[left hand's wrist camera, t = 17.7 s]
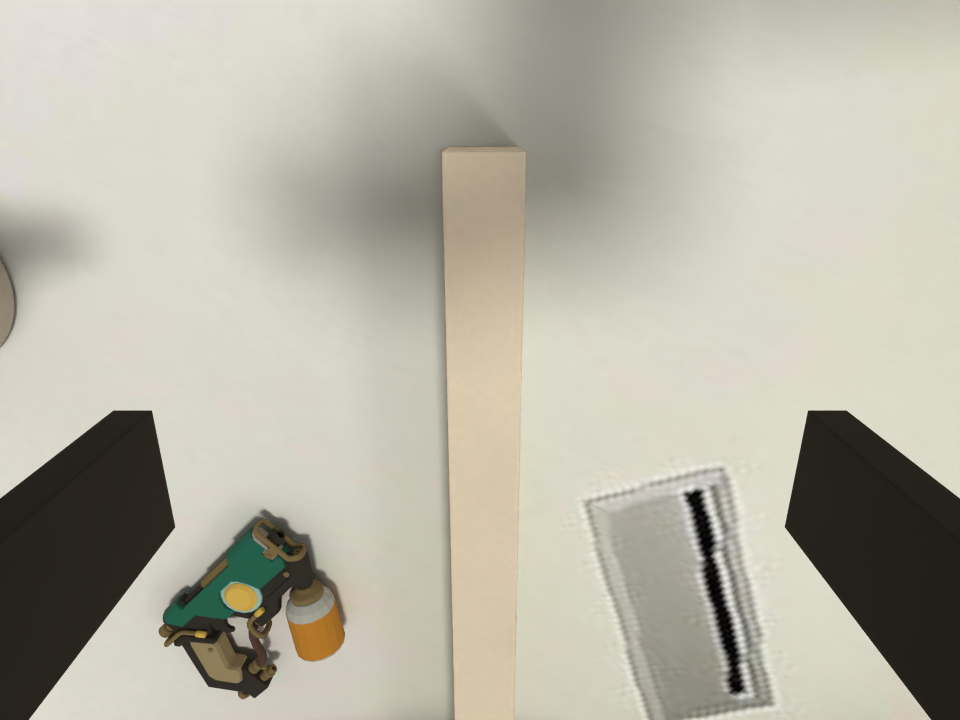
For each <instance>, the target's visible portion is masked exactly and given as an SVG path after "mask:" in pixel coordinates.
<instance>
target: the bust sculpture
mask: <svg viewBox="0 0 960 720" xmlns="http://www.w3.org/2000/svg"><path fill="white" fill-rule="evenodd" d="M13 318H14V295H13V290H12V286H11V282H10V279H9V277H8V274H7V272H6V269H5V267H4V265H3V264H2V262H1V260H0V346H1V345H2V344H3V343H4V341H5V340H6V338H7V336H8V334H9V332H10V329H11V327H12V323H13Z"/></svg>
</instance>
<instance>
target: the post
mask: <svg viewBox="0 0 960 720" xmlns="http://www.w3.org/2000/svg"><path fill="white" fill-rule="evenodd" d="M525 190H526V151H524V150H522V149H520V148H519V147H448V148H447V149H445V150H444V151H442V193H443V237H444V280H445V324H446V367H447V410H448V454H449V497H450V541H451V584H452V628H453V671H454V715H455V720H514V695H515V649H516V603H517V557H518V511H519V465H520V420H521V374H522V328H523V282H524V236H525Z"/></svg>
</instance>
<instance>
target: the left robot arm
mask: <svg viewBox="0 0 960 720" xmlns="http://www.w3.org/2000/svg"><path fill="white" fill-rule="evenodd" d="M174 528H175V524H174V519H173V514H172V509H171V504H170V499H169V494H168V489H167V484H166V479H165V474H164V469H163V464H162V459H161V454H160V449H159V444H158V439H157V434H156V429H155V424H154V419H153V414H152V411H112V412H111V413H110V414H109V415H107V416H106V417H105V418H103V419H102V420H101V421H100V422H98V423H97V424H96V425H94V426H93V427H92V428H91V429H89V430H88V431H87V432H85V433H84V434H83V435H82V436H80V437H79V438H78V439H76V440H75V441H74V442H73V443H71V444H70V445H69V446H67V447H66V448H65V449H63V450H62V451H61V452H60V453H58V454H57V455H56V456H54V457H53V458H52V459H51V460H49V461H48V462H47V463H45V464H44V465H43V466H42V467H40V468H39V469H38V470H36V471H35V472H34V473H33V474H31V475H30V476H29V477H27V478H26V479H25V480H24V481H22V482H21V483H20V484H18V485H17V486H16V487H15V488H13V489H12V490H11V491H9V492H8V493H7V494H6V495H4V496H3V497H2V498H0V720H29V719H30V717H31V716H32V715H33V713H34V712H35V711H36V709H37V708H38V707H39V705H40V704H41V703H42V702H43V700H44V699H45V698H46V696H47V695H48V694H49V692H50V691H51V690H52V688H53V687H54V686H55V684H56V683H57V682H58V680H59V679H60V678H61V677H62V675H63V674H64V673H65V671H66V670H67V669H68V667H69V666H70V665H71V663H72V662H73V661H74V659H75V658H76V657H77V656H78V654H79V653H80V652H81V650H82V649H83V648H84V646H85V645H86V644H87V642H88V641H89V640H90V638H91V637H92V636H93V634H94V633H95V632H96V631H97V629H98V628H99V627H100V625H101V624H102V623H103V621H104V620H105V619H106V617H107V616H108V615H109V613H110V612H111V611H112V609H113V608H114V607H115V606H116V604H117V603H118V602H119V600H120V599H121V598H122V596H123V595H124V594H125V592H126V591H127V590H128V588H129V587H130V586H131V585H132V583H133V582H134V581H135V579H136V578H137V577H138V575H139V574H140V573H141V571H142V570H143V569H144V567H145V566H146V565H147V563H148V562H149V561H150V560H151V558H152V557H153V556H154V554H155V553H156V552H157V550H158V549H159V548H160V546H161V545H162V544H163V542H164V541H165V540H166V538H167V537H168V536H169V535H170V533H171V532H172V531H173V529H174ZM785 528H786V529H787V531H788V532H789V533H790V535H791V536H792V537H793V538H794V540H795V541H796V542H797V544H798V545H799V546H800V548H801V549H802V550H803V552H804V553H805V554H806V556H807V557H808V558H809V560H810V561H811V562H812V563H813V565H814V566H815V567H816V569H817V570H818V571H819V573H820V574H821V575H822V577H823V578H824V579H825V581H826V582H827V583H828V585H829V586H830V587H831V588H832V590H833V591H834V592H835V594H836V595H837V596H838V598H839V599H840V600H841V602H842V603H843V604H844V606H845V607H846V608H847V609H848V611H849V612H850V613H851V615H852V616H853V617H854V619H855V620H856V621H857V623H858V624H859V625H860V627H861V628H862V629H863V631H864V632H865V633H866V634H867V636H868V637H869V638H870V640H871V641H872V642H873V644H874V645H875V646H876V648H877V649H878V650H879V652H880V653H881V654H882V656H883V657H884V658H885V659H886V661H887V662H888V663H889V665H890V666H891V667H892V669H893V670H894V671H895V673H896V674H897V675H898V677H899V678H900V679H901V680H902V682H903V683H904V684H905V686H906V687H907V688H908V690H909V691H910V692H911V694H912V695H913V696H914V698H915V699H916V700H917V702H918V703H919V704H920V705H921V707H922V708H923V709H924V711H925V712H926V713H927V715H928V716H929V717H930V719H931V720H960V498H958V497H957V496H956V495H954V494H953V493H952V492H951V491H949V490H948V489H947V488H945V487H944V486H943V485H942V484H940V483H939V482H938V481H936V480H935V479H934V478H933V477H931V476H930V475H929V474H927V473H926V472H925V471H924V470H922V469H921V468H920V467H918V466H917V465H916V464H915V463H913V462H912V461H911V460H909V459H908V458H907V457H906V456H904V455H903V454H902V453H900V452H899V451H898V450H897V449H895V448H894V447H893V446H891V445H890V444H889V443H887V442H886V441H885V440H884V439H882V438H881V437H880V436H878V435H877V434H876V433H875V432H873V431H872V430H871V429H869V428H868V427H867V426H866V425H864V424H863V423H862V422H860V421H859V420H858V419H857V418H855V417H854V416H853V415H851V414H850V413H849V412H848V411H808V414H807V419H806V424H805V429H804V434H803V439H802V444H801V449H800V454H799V459H798V464H797V469H796V474H795V479H794V484H793V489H792V494H791V499H790V504H789V509H788V514H787V519H786V524H785Z"/></svg>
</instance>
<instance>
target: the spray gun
mask: <svg viewBox="0 0 960 720" xmlns="http://www.w3.org/2000/svg"><path fill="white" fill-rule="evenodd" d="M260 524H264V525H265V526H267V527H268V528H269V529H270V530H272V532H271V533H270V534H269V533H268V532H266V531H265V530H264V529H263V528H261V527H259V525H260ZM284 542H286V543H288V544H289V545H290V546H291V547H293V548H301V549H302V550H301V551H300V549H296V550H294V551H293V553H289V546H288V545H287V544H284V545H282V543H284ZM290 587H293V588H292V590H291V591H290V595H289V596H290V599H289V600H288V602H287V606H286V616H287V620H288V624H289V627H290V631H291V634H292V638H293V641H294V645H295V648H296V651H297V654H298V656H299V657H300V658H302V659H303V660H305V661H311V662H315V661H320V660H324V659H326V658H328V657H330V656H332V655H333V654H334V653H336V652H337V651H338V650H339V649H340V647H341V646H342V644H343V643H344V638H345V632H344V628H343V625H342V621H341V618H340V614H339V611H338V607H337V604H336V600H335V598H334V596H333V594H332V592H331V591H330V589H329V588H327V587H325V586H323V584H322V582H321V581H319V580H317V579H313V575H312V570H311V565H310V561H309V556H308V552H307V549H306V545H305V544H303V543H295V542H294V541H292V540H291V539H290V538H289V537H288V536H286V535H285V534H284V532H283V531H281V530H279V529H278V528H277V527H275V526H274V525H273V524H272V523H271V522H269V521H268V520H266V519H261V520H259V521H258V522H257V523H256V524H255V526H254V527H252V528H251V529H250V530H249V531H248V532H247V533H246V534H245V535H244V536H243V537H242V538H240V539H239V540H238V541H237V542H236V543H235V544H234V545H233V546H232V547H231V548H230V549H229V550H228V552H227V557H226V558H225V559H224V560H222V561H221V562H220V563H219V564H218V565H217V566H216V567H215V568H214V569H213V570H212V571H211V572H210V573H209V574H208V575H207V576H206V577H205V578H204V579H203V580H201V585H200V586H199V587H198V588H197V589H196V590H194V591H193V592H192V593H191V594H190V595H189V594H186V593H184V594H183V595H181V596H180V597H178V598H177V599H176V600H175V601H174V602H173V603H172V604H171V605H170V606H169V607H168V608H167V609H166V610H165V612H164V614H163V622H164V623H165V624H164V625H163V626H161V627H160V629H159V634H160V635H161V636H162V637H164V638H167V637H168V638H167V640H166V641H165V643H164V646H165V647H168V646H169V645H170V644H171V643H173V642H174V645H175V646H181V645H182V646H183V647H184V649H185V651H186V652H187V654H188V655H189V657H190V659H191V660H192V662H193V663H194V665H195V667H196V668H197V670H198V671H199V673H200V674H201V676H202V677H203V679H204V680H205V682H206V683H207V685H208V686H209V687H214V688H220V689H227V690H233V691H238V696H239V697H240V698H241V699H245V698H247V697H249V696H250V695H251V696H252V697H254V698H255V697H257V696H258V695H259V694H260V693H262V692H263V691H264V690H265V689H267V688H268V686H269V684H270V682H271V680H272V678H273V675H275V672H276V671H277V667H276V666H275V665H274V664H273V665H269V666H267V665H266V664H265V662H266V659H267V654H266V651H265V650H264V648H263V646H262V645H261V643H260V641H259V638H261V639H262V638H265V637H266V635H267V634H268V632H269V631H270V629H271V626H272V621H271V619H272V618H273V617H274V616H275V615H276V614H277V613H278V612H279V611H280V609H281V603H282V595H283V594H284V593H285V592H286V591H287V590H288V589H289V588H290ZM231 615H235V616H239V617H243V618H248V619H249V620H248V622H247V627H248V629H249V639H250V641H251V644H252V646H253V648H254V650H255V651H256V653H257V654H258V657H257V658H256V659H254V661H253V660H251V659H250V658H248V657H247V656H246V655H245V654H237V653H235V652H234V650H233V648H232V646H231V644H230V642H229V639H228V637H227V635H226V633H225V632H233V631H234V630H235V627H234V626H231V625H230V624H228V622H227V618H228V617H229V616H231ZM265 624H266V627H265V629H264V631H263V632H259V631H258V630H257V629H258V627H259V625H260V626H264V625H265Z"/></svg>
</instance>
